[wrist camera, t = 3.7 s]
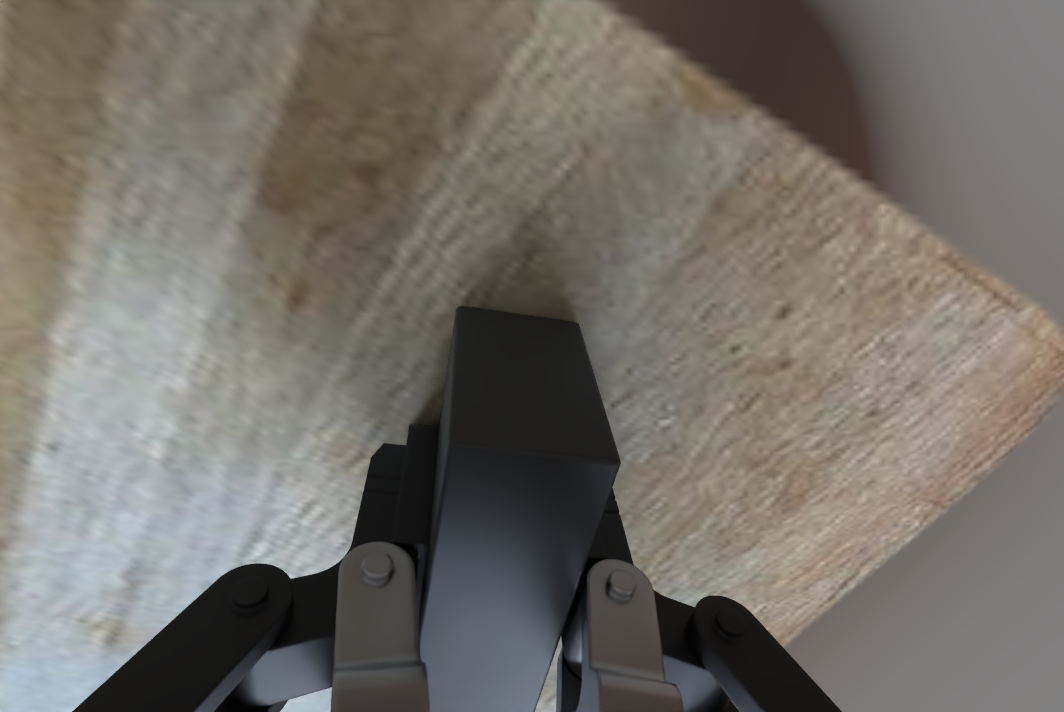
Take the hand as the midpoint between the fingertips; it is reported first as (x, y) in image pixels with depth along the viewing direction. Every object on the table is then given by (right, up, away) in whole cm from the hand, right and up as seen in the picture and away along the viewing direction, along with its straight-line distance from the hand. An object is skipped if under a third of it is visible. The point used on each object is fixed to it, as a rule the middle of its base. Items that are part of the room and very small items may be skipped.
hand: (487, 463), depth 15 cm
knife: (-1, -5, +3) cm, 6 cm away
